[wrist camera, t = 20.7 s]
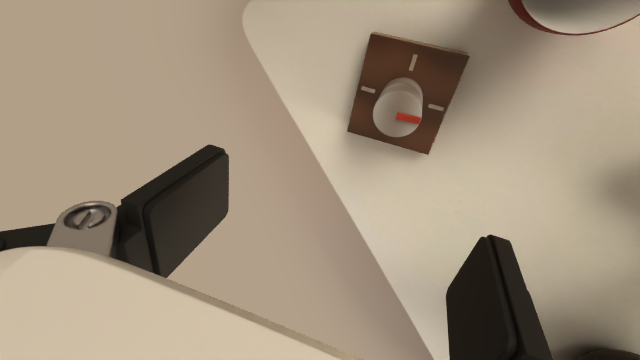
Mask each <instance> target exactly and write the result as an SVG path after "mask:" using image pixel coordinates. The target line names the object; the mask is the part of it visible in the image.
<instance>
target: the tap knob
mask: <svg viewBox="0 0 640 360" xmlns="http://www.w3.org/2000/svg"><path fill="white" fill-rule="evenodd" d="M422 103H423V93H422V90H421V88H420V86H419V85H418V83H417V82H415V81H414V80H412V79H410V78H405V77H401V78H396V79H394V80H392V81H390V82H389V83H388V84H387V85H386V86H385V87H384V89H383V91H382V93H381V95H380V96H379V98H378V100H377V102H376V104H375V106H374V109H373V120H374V123H375V125H376V127H377V128H378V129H379V130H380V131H381V132H382V133H384V134H385V135H388V136H391V137H402V136H406V135H408V134H410V133H411V132H413V131H414V130H415V129H416V128H417V126H418V125H419V123H420V121H421V117H422Z"/></svg>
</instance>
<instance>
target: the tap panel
mask: <svg viewBox="0 0 640 360" xmlns="http://www.w3.org/2000/svg"><path fill="white" fill-rule="evenodd" d="M469 57H470V56H469V54H468V53H466V52H461V51H457V50H452V49H448V48H444V47H439V46H435V45H431V44H426V43H422V42H417V41H413V40H409V39H404V38H400V37H395V36H391V35H387V34H382V33H378V32H373V33H371V35H370V39H369V43H368V47H367V51H366V56H365V60H364V64H363V68H362V72H361V76H360V81H359V85H358V89H357V93H356V97H355V101H354V105H353V110H352V114H351V118H350V122H349V126H348V130H347V131H348V132H351V133H355V134H358V135H361V136H365V137H368V138H372V139H375V140H379V141H382V142H386V143H389V144H393V145H396V146H400V147H403V148H407V149H410V150H413V151H417V152H420V153H424V154H427V155H428V154H429V152H430V150H431V147H432V145H433V143H434V140H435V138H436V135H437V133H438V131H439V128H440V126H441V124H442V121H443V119H444V117H445V114H446V112H447V109H448V107H449V105H450V102H451V100H452V98H453V95H454V93H455V90H456V88H457V86H458V83H459V81H460V79H461V76H462V74H463V71H464V69H465V67H466V64H467V62H468V60H469ZM401 77H405V78H410V79H412V80H414V81H415V82H417V83H418V85H419V86H420V88H421V90H422V93H423V103H422V117H421V121H420V123H419V125H418V126H417V128H416V129H415V130H414V131H413V132H411V133H410V134H408V135H406V136H402V137H391V136H388V135H385V134H384V133H382V132H381V131H380V130H379V129H378V128H377V127H376V125H375V123H374V120H373V109H374V106H375V104H376V102H377V100H378V98H379V96H380V95H381V93H382V91H383V89H384V87H385V86H386V85H387V84H388V83H389V82H390V81H392V80H394V79H396V78H401Z"/></svg>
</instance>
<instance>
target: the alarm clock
mask: <svg viewBox="0 0 640 360" xmlns="http://www.w3.org/2000/svg"><path fill="white" fill-rule="evenodd" d="M578 360H640V355H637V354H634V353H631V352H626V351H621V350H598V351H594V352H590V353H588V354H586V355H583V356H582V357H580V358H579V359H578Z"/></svg>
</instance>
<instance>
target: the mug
mask: <svg viewBox="0 0 640 360" xmlns="http://www.w3.org/2000/svg"><path fill="white" fill-rule="evenodd" d="M508 1H509V3H510V5H511V7H512V9H513V11H514V12H515V13H516V15H517V16H518V17H519V18H520V19H521V20H523V21H524V22H525V23H527V24H528V25H530V26H532V27H534V28H536V29H538V30H541V31H545V32H549V33H554V34H562V35H587V34H593V33H598V32H602V31H606V30H608V29H611V28H614V27H617V26H619V25H622V24H624V23H626V22H628V21H630V20H632V19H634V18H635V17H637V16H639V15H640V0H508Z"/></svg>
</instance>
